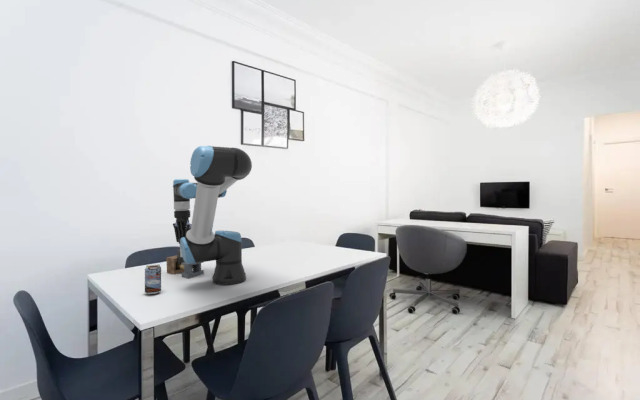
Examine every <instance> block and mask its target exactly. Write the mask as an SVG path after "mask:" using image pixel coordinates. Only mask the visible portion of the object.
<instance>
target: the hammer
mask: <svg viewBox="0 0 640 400" xmlns="http://www.w3.org/2000/svg"><path fill="white" fill-rule="evenodd" d="M176 256H177V262H175V263H176V268H180V269H184V265H181V263H184V262H185V261H184V259H183V257H180V249H178V250H176ZM192 268H193V265H192Z"/></svg>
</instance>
